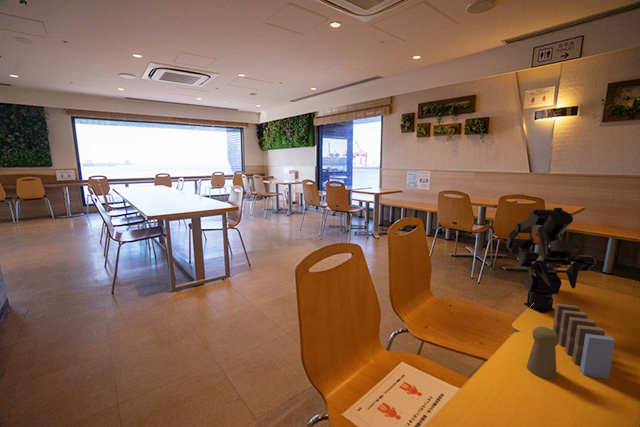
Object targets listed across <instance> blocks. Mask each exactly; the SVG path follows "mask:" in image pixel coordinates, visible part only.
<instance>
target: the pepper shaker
mask: <svg viewBox="0 0 640 427" xmlns="http://www.w3.org/2000/svg"><path fill="white" fill-rule="evenodd" d="M531 333H532V338H533V344H532V347H531V350H530V354H529V357H528V360H527V363H526V368H527V370H528V371H529V372H530V373H531V374H533V375H534V376H537V377H538V378H542V379H544V380H545V379H546V380H554V379H556V378H557V376H558V375H557V374H558V373H557V353H556V351H557V350H556V347H557V346H558V344H559V336H558V334H557V333H556V332H555V331H553V328H552V329H551V328H550V327H546V326H536V327H535V328H533V331H532V332H531Z"/></svg>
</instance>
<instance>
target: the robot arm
mask: <svg viewBox="0 0 640 427" xmlns="http://www.w3.org/2000/svg"><path fill="white" fill-rule="evenodd" d="M573 221H574V217H573V216H572V215H571V214H570V213H569V212H567V211H565V210H563V207H553V208H551V209H546V208H544V209H543V208H534V209H532V210H531V211H530V212H529V217H528V218H526V219H524V220H523V221H521V222H517V223H516V224H515V227H514V229H513V230H511V231H510V232H509V233H508V235H507V239H506V245H505V246H506V249H508V251H509V252H510V253H511V254H513V255H515V256H518V257H519V258H518V264H519V266H520V267H521V268H525V269H526V270H527V271H528V273H529V275H528V277H526V278H525V279H524V281H523V282H524V283H523V284H524V285H523V286H524V288H525V289H526V290H527V299H526V302H524V303H523V305H524V306H525V307H528V308H530V306H531V305H532V304H533V303H534V304H533V305H532V306H531V308H530V309H532V310H534V311H537V312H539V313H547V312H549V311H553V310H555V308H554V307H553V305H554V298H553V296H554V295H558V294H559V291H560V289H561V287H562V279H561V277H559V275H558V271H556V270H555V269H554V267H552V266H550V265H564V266H566V265H567V269H566V270H565V272H566V276H567V278H568V281H569V282H568V283H569V285H570V287H571V288H572V289H573V290H574V289H575V288H576V286H577V280H578V274H579V272H588V271H590V270H591V269H593V267H595V265H597V260H596V258H595V257H594V256H592V255H586V254H585V255H584V254H577V255H576V256H575V257H574V258H567V257H570V255H571V253H574V252H575V251H579V250H581V249H582V248H581V247H582V245H581V242H580V240H579V239H578V238H571V239H569V240H563V239H562V238H561V236H560V235H562V234H564V233H565V231H566V230H567V229H568V228H569V226H570V225H572V223H573ZM535 230H536V233H535V234H536V235H535V236H536V237H538V242H539V245H540V246H539V251H540V252H541V254H542V255H540V254H539V253H538V252H534V251H533V250H532V248H533V245H534V243H535V242H534V241H535V240H534V238H533V236H532V233H533V231H535ZM520 233H521V234H528V237H529V238H521V237H520V238H519V237H517V236H518V235H519V234H520ZM548 264H549V265H548Z"/></svg>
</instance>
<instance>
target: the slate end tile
mask: <svg viewBox="0 0 640 427" xmlns="http://www.w3.org/2000/svg"><path fill="white" fill-rule="evenodd" d="M615 345H616V339H614V338H613V337H612V336H609V335H608V336H607V335H604V336H600V335H593V334H585V340H584V347H583V353H582V360H581V365H579V366H580V367H579V371H580V373H581V374H582V375H583V376H589V377H593V378H594V377H596V378H602V379H608V380H609V379H610V374H611V368H612V363H613V355H614V350H615Z"/></svg>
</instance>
